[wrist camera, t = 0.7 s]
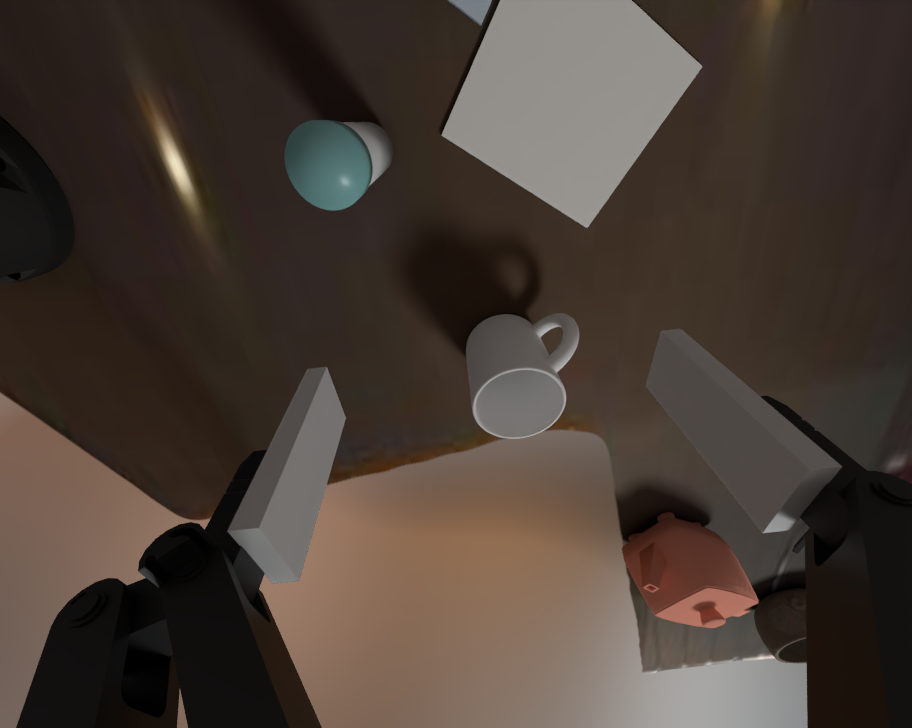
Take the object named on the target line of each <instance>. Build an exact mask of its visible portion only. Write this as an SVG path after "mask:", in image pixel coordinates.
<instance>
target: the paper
mask: <svg viewBox="0 0 912 728" xmlns="http://www.w3.org/2000/svg"><path fill="white" fill-rule="evenodd" d="M701 68H702V66H701V65H700V64H699V63H698V62H697V61H696V60H695V59H694V58H693V57H692V56H691V55H690V54H689V53H687V52H686V51H685V50H684V49H683V48H682V47H681V46H680V45H679V44H678V43H677V42H676V41H675V40H674V39H673V38H671V37H670V36H669V35H668V34H667V33H666V32H665V31H664V30H663V29H662V28H661V27H660V26H659V25H658V24H656V23H655V22H654V21H653V20H652V19H651V18H650V17H649V16H648V15H647V14H646V13H645V12H644V11H643V10H642V9H640V8H639V7H638V6H637V5H636V4H635V3H634V2H633V1H632V0H500V2H499V4H498V7H497V9H496V11H495V14H494V16H493V18H492V20H491V23H490V25H489V27H488V30H487V32H486V34H485V36H484V39H483V41H482V43H481V46H480V48H479V50H478V52H477V55H476V57H475V59H474V62H473V64H472V66H471V68H470V71H469V73H468V75H467V78H466V80H465V82H464V84H463V87H462V89H461V91H460V94H459V96H458V98H457V100H456V103H455V105H454V107H453V110H452V112H451V114H450V116H449V119H448V121H447V123H446V126H445V128H444V130H443V132H442V136H443V137H445V138H446V139H448V140H449V141H451V142H453V143H454V144H456V145H457V146H459V147H460V148H462V149H464V150H465V151H467V152H468V153H470V154H471V155H473V156H475V157H476V158H478V159H479V160H481V161H482V162H484V163H486V164H487V165H489V166H490V167H492V168H493V169H495V170H497V171H498V172H500V173H501V174H503V175H504V176H506V177H507V178H509V179H511V180H512V181H514V182H515V183H517V184H518V185H520V186H522V187H523V188H525V189H526V190H528V191H529V192H531V193H533V194H534V195H536V196H537V197H539V198H540V199H542V200H544V201H545V202H547V203H548V204H550V205H551V206H553V207H555V208H556V209H558V210H559V211H561V212H562V213H564V214H566V215H567V216H569V217H570V218H572V219H573V220H575V221H576V222H578V223H580V224H581V225H583V226H584V227H586V228H588V226H589V225H590V223H591V222H592V221H593V219H594V218H595V216H596V215H597V214H598V212H599V211H600V209H601V208H602V207H603V205H604V204H605V202H606V201H607V200H608V198H609V197H610V195H611V194H612V193H613V191H614V190H615V188H616V187H617V186H618V184H619V183H620V181H621V180H622V179H623V177H624V176H625V174H626V173H627V172H628V170H629V169H630V167H631V166H632V165H633V163H634V162H635V160H636V159H637V158H638V156H639V155H640V153H641V152H642V151H643V149H644V148H645V146H646V145H647V144H648V142H649V141H650V139H651V138H652V137H653V135H654V134H655V132H656V131H657V130H658V128H659V127H660V125H661V124H662V122H663V121H664V120H665V118H666V117H667V115H668V114H669V113H670V111H671V110H672V108H673V107H674V106H675V104H676V103H677V101H678V100H679V99H680V97H681V96H682V94H683V93H684V92H685V90H686V89H687V87H688V86H689V85H690V83H691V82H692V80H693V79H694V78H695V76H696V75H697V73H698V72H699V71H700V69H701Z"/></svg>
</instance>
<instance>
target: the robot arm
mask: <svg viewBox="0 0 912 728" xmlns="http://www.w3.org/2000/svg"><path fill="white" fill-rule="evenodd" d="M73 242H74V224H73V218H72V215H71V211H70V208H69V205H68V203H67V200H66V198H65V196H64V194H63V192H62V190H61V188H60V186H59V184H58V183H57V181H56V179H55V178H54V176H53V175H52V173H51V172H50V170H49V169H48V167H47V166H46V165H45V163H44V162H43V161H42V160H41V158H40V157H39V156H38V155H37V154H36V152H35V151H34V150H33V149H32V148H31V147H30V146H29V145H28V143H27V142H26V141H25V140H24V139H23V138H22V137H21V136H20V135H19V134H18V133H17V132H15V131H14V130H13V129H12V128H11V127H10V126H9V125H8V124H7V123H5V122H4V121H3V120H2V119H1V118H0V284H5V283H15V282H20V281H24V280H28V279H31V278H33V277H36V276H39V275H41V274H44V273H46V272H49V271H51V270H53V269H55V268H57V267H59V266H60V265H61V264H62V263H63V262H64V261H65V260H66V259H67V257H68V256H69V254H70V252H71V250H72V247H73ZM646 387H647V388H648V390H649V391H650V392H651V393H652V395H653V396H654V397H655V398H656V400H657V401H658V402H659V403H660V405H661V406H662V407H663V409H664V410H665V411H666V412H667V414H668V415H669V416H670V417H671V419H672V420H673V421H674V422H675V424H676V425H677V426H678V427H679V429H680V430H681V431H682V432H683V434H684V435H685V436H686V437H687V439H688V440H689V441H690V443H691V444H692V445H693V446H694V448H695V449H696V450H697V451H698V453H699V454H700V455H701V456H702V458H703V459H704V460H705V461H706V463H707V464H708V465H709V466H710V468H711V469H712V470H713V471H714V473H715V474H716V475H717V476H718V478H719V479H720V480H721V482H722V483H723V484H724V485H725V487H726V488H727V489H728V490H729V492H730V493H731V494H732V495H733V497H734V498H735V499H736V500H737V502H738V503H739V504H740V505H741V507H742V508H743V509H744V510H745V512H746V513H747V514H748V516H749V517H750V518H751V519H752V521H753V522H754V523H755V524H756V526H757V527H758V528H759V529H760V531H761V532H762V533H768V532H778V531H787V530H790V529H791V528H792V527H793V526H794V525H795V523H796V522H797V521H798V520H799V518H801V519H802V520H803V521H804V522H805V523H806V524H807V525H808V526H809V527H810V528H809V530H808V531H807V532H806V533H805V534H804V535H803V536H802V537H801V539H800V540H799V541H798V542H797V543H796V544H795V545H794V548H793V551H792V552H795V553H797V554H798V552H799V551H800V550H801V549H802V548H803V547H805V570H806V640H807V707H808V708H807V709H808V710H807V711H808V728H912V484H910V483H909V482H907V481H905V480H903V479H900V478H898V477H895V476H893V475H890V474H887V473H882V472H878V471H867V470H866V469H864V468H863V467H862V466H860V465H859V464H858V463H857V462H856V461H854V460H853V459H852V458H851V457H849V456H848V455H847V454H846V453H844V452H843V451H842V450H841V449H840V448H838V447H837V446H836V445H835V444H833V443H832V442H831V441H830V440H828V439H827V438H826V437H825V436H824V435H822V434H821V433H820V432H819V431H815V430H814V427H812V426H811V425H810V424H809V423H808V422H806V421H805V420H804V421H803V420H802V418H801V417H800V416H799V415H798V414H797V413H795V412H794V411H793V410H792V409H790V408H789V407H788V406H787V405H785V404H783V403H781V402H779V401H777V400H775V399H773V398H771V397H769V396H759V395H758V394H756V393H755V392H754V391H753V390H752V389H751V388H749V387H748V386H747V385H746V384H745V383H744V382H742V381H741V380H740V379H739V378H738V377H737V376H735V375H734V374H733V373H732V372H731V371H729V370H728V369H727V368H726V367H725V366H724V365H722V364H721V363H720V362H719V361H718V360H717V359H715V358H714V357H713V356H712V355H711V354H710V353H708V352H707V351H706V350H705V349H704V348H702V347H701V346H700V345H699V344H698V343H697V342H695V341H694V340H693V339H692V338H691V337H690V336H688V335H687V334H686V333H685V332H684V331H683V330H681V329H673V330H664V331H661V332H660V336H659V339H658V343H657V347H656V350H655V354H654V357H653V361H652V365H651V368H650V372H649V375H648V379H647V383H646ZM345 419H346V417H345V415H344V412H343V409H342V407H341V404H340V401H339V399H338V396H337V393H336V391H335V388H334V385H333V382H332V380H331V377H330V374H329V372H328V369H327V367H322V368H312V369H307V371H306V373H305V375H304V377H303V379H302V381H301V383H300V385H299V387H298V389H297V391H296V393H295V395H294V397H293V399H292V401H291V403H290V405H289V407H288V409H287V411H286V413H285V415H284V417H283V419H282V421H281V423H280V425H279V427H278V429H277V431H276V433H275V435H274V438H273V440H272V442H271V444H270V446H269V448H268V450H261V451H254V452H253V453H252V454H251V455H250V456H249V457H248V458H247V459H246V460H245V461H244V462H243V463H242V464H241V465H240V467H239V468H238V470H237V472H236V474H235V476H234V478H233V482H231V483H230V485H229V487H228V488H227V490H226V494H224V496H223V498H222V499H221V501H220V503H219V505H218V507H217V508H216V510H215V512H214V514H213V516H212V518H211V519H210V521H209V523H208V525H207V527H206V528H205V530H204V529H203V528H202V527H201V526H200V524H196V523H192V522H190V523H185V524H180V525H178V526H176V527H173V528H171V529H169V530H168V531H166V532H165V533H163V534H162V535H160V536H159V537H158V538H156V539H155V541H153V542H152V544H151V545H150V546H149V547H148V548H147V549H146V550H145V552H144V554H143V556H142V557H141V559H140V561H139V569H138V571H139V572H140V573H141V574H142V575H143V576H145V577H146V578H145V579H142V580H140V581H137V582H135V583H132V584H130V585H128V586H127V585H125V584H124V583H123V582H121V581H120V580H118V579H114V578H107V579H104V580H101V581H98V582H95V583H94V584H92V585H90V586H89V587H87V588H85V589H84V590H82V591H81V592H80V593H78V594H77V595H76V596H75V597H73V598H72V599H71V600H70V601H69V602H68V603H67V604H66V605H65V607H64V608H63V609H62V610H61V611H60V612H59V614H58V615H57V617H56V619H55V620H54V622H53V624H52V626H51V629H50V631H49V634H48V637H47V640H46V643H45V646H44V649H43V652H42V654H41V657H40V660H39V663H38V666H37V669H36V672H35V675H34V678H33V681H32V683H31V686H30V689H29V692H28V695H27V698H26V701H25V704H24V707H23V710H22V712H21V715H20V718H19V721H18V724H17V727H16V728H177V717H178V703H179V689H180V690H181V694H182V699H183V705H184V709H185V714H186V719H187V724H188V728H322V727H321V725H320V723H319V721H318V718H317V716H316V714H315V711H314V709H313V707H312V705H311V702H310V700H309V698H308V695H307V693H306V691H305V689H304V686H303V684H302V682H301V680H300V677H299V675H298V673H297V670H296V668H295V666H294V664H293V661H292V659H291V657H290V655H289V652H288V650H287V648H286V646H285V643H284V641H283V639H282V636H281V634H280V632H279V630H278V627H277V625H276V623H275V620H274V618H273V616H272V614H271V611H270V609H269V607H268V605H267V603H266V600H265V598H264V595H263V593H262V592H261V591H260V590H259V587H260V584H261V581H262V579H263V576H264V575H265V576H266V577H267V578H268V579H269V581H270V582H271V583H272V584H276V583H285V582H295V581H299V579H300V576H301V572H302V569H303V565H304V562H305V558H306V555H307V552H308V548H309V544H310V541H311V538H312V534H313V531H314V527H315V524H316V520H317V516H318V513H319V510H320V506H321V503H322V499H323V495H324V492H325V489H326V485H327V482H328V478H329V475H330V471H331V468H332V464H333V461H334V457H335V454H336V450H337V447H338V443H339V440H340V436H341V433H342V429H343V426H344V422H345Z"/></svg>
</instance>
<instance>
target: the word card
mask: <svg viewBox="0 0 912 728" xmlns="http://www.w3.org/2000/svg"><path fill="white" fill-rule="evenodd" d="M448 1H449V2H450V3H452V4H453V5H454V6H456V7H457V8H458V9H460V10H461V11H462V12H463V13H465V14H466V15H467V16H469V17H470V18H471V19H472V20H474V21H475V22H476V23H478V24H479V25H480V26H481V25H482V22H483V20H484V18H485V15H486V13H487V11H488V8H489V6H490V4H491V1H492V0H448Z"/></svg>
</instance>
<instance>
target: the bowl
mask: <svg viewBox="0 0 912 728" xmlns="http://www.w3.org/2000/svg"><path fill="white" fill-rule="evenodd" d="M754 619H755V625H756V628H757V631H758V633H759V635H760V637H761V639H762V641H763V642H764V644H765V645H766V647H767V648H768V650H769V651H770V652H771V653H772V655H773V656H774V657H775V658H776V659H777V660H779V661H781V662H785V663H807V640H806V589H803V588H793V589H787V590H783V591H780V592H776V593H773V594H771V595H769V596H766V597H764V598H763V599H762V600H761V601H760V602H759V604H758V606H757V607H756V609H755V613H754Z"/></svg>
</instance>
